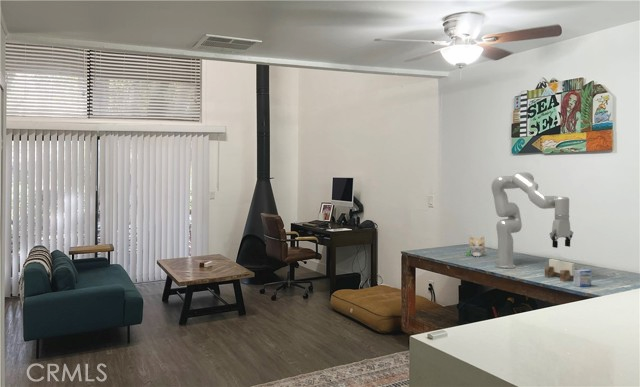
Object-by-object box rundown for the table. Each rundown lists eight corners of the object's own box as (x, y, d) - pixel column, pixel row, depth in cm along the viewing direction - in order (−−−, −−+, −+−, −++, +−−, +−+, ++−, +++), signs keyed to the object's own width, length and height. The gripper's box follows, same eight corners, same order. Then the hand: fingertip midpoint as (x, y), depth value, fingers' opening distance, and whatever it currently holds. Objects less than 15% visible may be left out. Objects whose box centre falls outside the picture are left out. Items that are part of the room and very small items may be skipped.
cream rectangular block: (549, 270, 283) (549, 259, 282) (551, 270, 283) (551, 258, 283) (572, 275, 268) (572, 263, 267) (574, 275, 268) (574, 263, 268)
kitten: (465, 257, 349) (465, 237, 349) (465, 254, 359) (465, 235, 358) (487, 257, 345) (487, 237, 344) (486, 255, 354) (486, 235, 353)
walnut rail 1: (547, 277, 277) (548, 267, 277) (544, 276, 280) (544, 266, 279) (563, 275, 282) (563, 265, 281) (559, 275, 284) (559, 265, 284)
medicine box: (579, 287, 254) (579, 271, 253) (573, 285, 258) (573, 269, 258) (591, 286, 256) (591, 270, 256) (584, 284, 260) (585, 268, 260)
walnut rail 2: (563, 281, 267) (563, 271, 267) (560, 280, 269) (560, 270, 269) (579, 279, 271) (579, 269, 271) (575, 278, 274) (575, 268, 273)
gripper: (567, 216, 281) (567, 245, 282) (545, 217, 275) (544, 246, 276) (578, 217, 274) (577, 246, 275) (555, 219, 268) (555, 248, 269)
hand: (561, 246), depth 276 cm, fingers open, 9 cm apart
